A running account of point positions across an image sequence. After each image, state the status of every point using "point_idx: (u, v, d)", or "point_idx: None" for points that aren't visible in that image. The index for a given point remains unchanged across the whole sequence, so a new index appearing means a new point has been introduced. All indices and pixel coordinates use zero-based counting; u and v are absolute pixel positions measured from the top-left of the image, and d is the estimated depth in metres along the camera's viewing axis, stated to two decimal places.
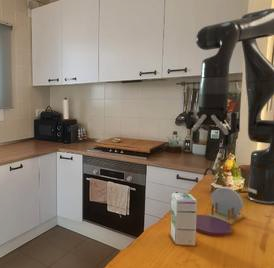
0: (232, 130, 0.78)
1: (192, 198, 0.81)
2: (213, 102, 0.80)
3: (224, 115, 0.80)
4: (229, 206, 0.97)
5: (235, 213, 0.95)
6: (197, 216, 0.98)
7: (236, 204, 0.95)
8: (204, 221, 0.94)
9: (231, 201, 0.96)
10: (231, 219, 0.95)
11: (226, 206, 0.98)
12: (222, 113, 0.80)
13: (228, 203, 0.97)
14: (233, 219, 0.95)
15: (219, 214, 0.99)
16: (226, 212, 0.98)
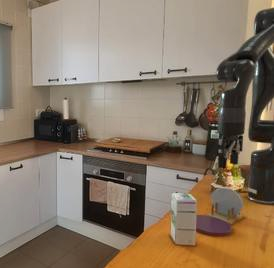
0: None
1: (192, 198, 0.81)
2: None
3: None
4: (229, 206, 0.97)
5: (235, 213, 0.95)
6: (197, 216, 0.98)
7: (236, 204, 0.95)
8: (204, 221, 0.94)
9: (231, 201, 0.96)
10: (231, 219, 0.95)
11: (226, 206, 0.98)
12: None
13: (228, 203, 0.97)
14: (233, 219, 0.95)
15: (219, 214, 0.99)
16: (226, 212, 0.98)
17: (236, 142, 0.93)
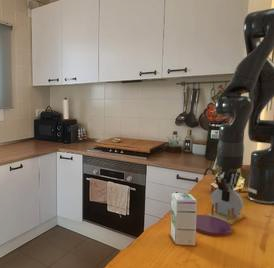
0: None
1: (192, 198, 0.81)
2: None
3: (220, 173, 0.95)
4: (229, 206, 0.97)
5: (235, 213, 0.95)
6: (197, 216, 0.98)
7: (236, 204, 0.95)
8: (204, 221, 0.94)
9: (231, 201, 0.96)
10: (231, 219, 0.95)
11: (226, 206, 0.98)
12: None
13: (228, 203, 0.97)
14: (233, 219, 0.95)
15: (219, 214, 0.99)
16: (226, 212, 0.98)
17: (234, 174, 0.95)
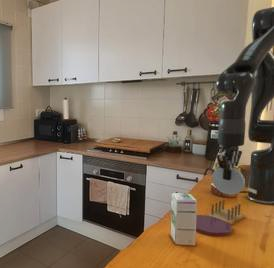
0: None
1: (192, 198, 0.81)
2: None
3: (221, 151, 0.94)
4: (231, 185, 0.96)
5: (237, 191, 0.94)
6: (197, 216, 0.98)
7: (238, 182, 0.94)
8: (204, 221, 0.94)
9: (233, 179, 0.95)
10: (231, 219, 0.95)
11: (228, 185, 0.97)
12: None
13: (230, 182, 0.96)
14: (233, 219, 0.95)
15: (219, 214, 0.99)
16: (228, 191, 0.97)
17: (236, 152, 0.94)
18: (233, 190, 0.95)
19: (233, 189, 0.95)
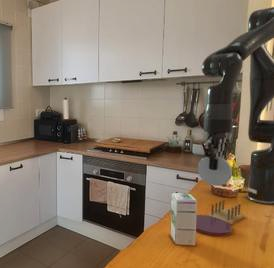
0: None
1: (192, 198, 0.81)
2: None
3: (207, 138, 0.88)
4: (217, 175, 0.89)
5: (223, 182, 0.88)
6: (197, 216, 0.98)
7: (224, 172, 0.87)
8: (204, 221, 0.94)
9: (219, 169, 0.89)
10: (231, 219, 0.95)
11: (214, 175, 0.90)
12: None
13: (216, 172, 0.90)
14: (233, 219, 0.95)
15: (219, 214, 0.99)
16: (214, 182, 0.90)
17: (223, 140, 0.88)
18: (220, 181, 0.89)
19: (220, 180, 0.89)
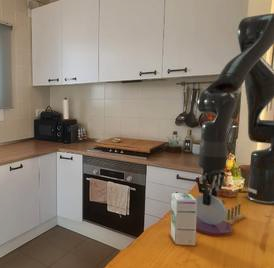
0: None
1: (192, 198, 0.81)
2: None
3: (202, 174, 0.89)
4: (212, 214, 0.90)
5: (218, 222, 0.89)
6: (197, 216, 0.98)
7: (219, 212, 0.89)
8: None
9: (214, 209, 0.90)
10: (231, 219, 0.95)
11: (209, 214, 0.91)
12: None
13: (211, 211, 0.91)
14: (233, 219, 0.95)
15: None
16: (209, 220, 0.92)
17: (217, 176, 0.89)
18: (214, 220, 0.90)
19: (215, 219, 0.90)
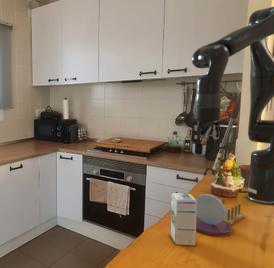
0: None
1: (192, 198, 0.81)
2: (194, 114, 0.96)
3: None
4: (212, 214, 0.90)
5: (218, 222, 0.89)
6: (197, 216, 0.98)
7: (219, 212, 0.89)
8: None
9: (214, 208, 0.90)
10: (231, 219, 0.95)
11: (209, 214, 0.91)
12: None
13: (211, 211, 0.91)
14: (233, 219, 0.95)
15: None
16: (209, 220, 0.92)
17: (212, 128, 0.94)
18: (214, 220, 0.90)
19: (215, 219, 0.90)
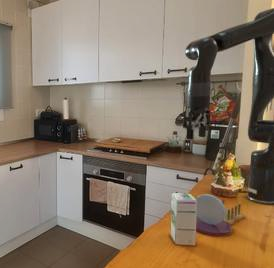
0: None
1: (192, 198, 0.81)
2: (186, 103, 1.03)
3: None
4: (212, 214, 0.91)
5: (218, 222, 0.89)
6: None
7: (219, 212, 0.89)
8: None
9: (214, 208, 0.90)
10: (231, 219, 0.95)
11: (209, 214, 0.91)
12: None
13: (211, 211, 0.91)
14: (233, 219, 0.95)
15: None
16: (209, 220, 0.92)
17: (203, 115, 1.01)
18: (214, 220, 0.90)
19: (215, 219, 0.90)
